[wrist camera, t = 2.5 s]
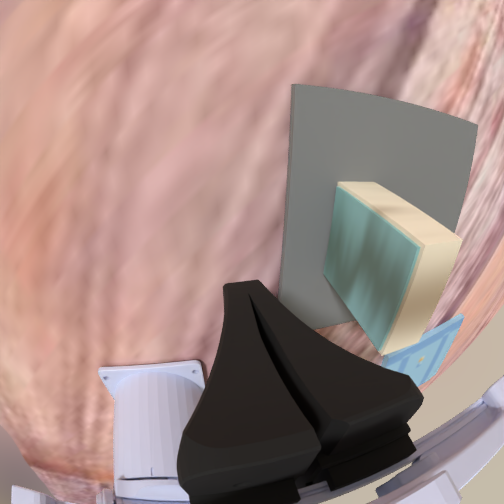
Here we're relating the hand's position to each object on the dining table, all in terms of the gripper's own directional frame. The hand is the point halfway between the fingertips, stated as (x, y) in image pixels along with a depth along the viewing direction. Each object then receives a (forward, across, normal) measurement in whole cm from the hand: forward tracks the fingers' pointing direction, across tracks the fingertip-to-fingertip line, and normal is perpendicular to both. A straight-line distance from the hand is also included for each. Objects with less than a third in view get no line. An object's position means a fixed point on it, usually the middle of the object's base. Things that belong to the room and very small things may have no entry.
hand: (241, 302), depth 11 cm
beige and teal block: (+5, -8, 0) cm, 9 cm away
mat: (+5, -11, 0) cm, 12 cm away
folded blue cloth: (+6, -23, +20) cm, 31 cm away
